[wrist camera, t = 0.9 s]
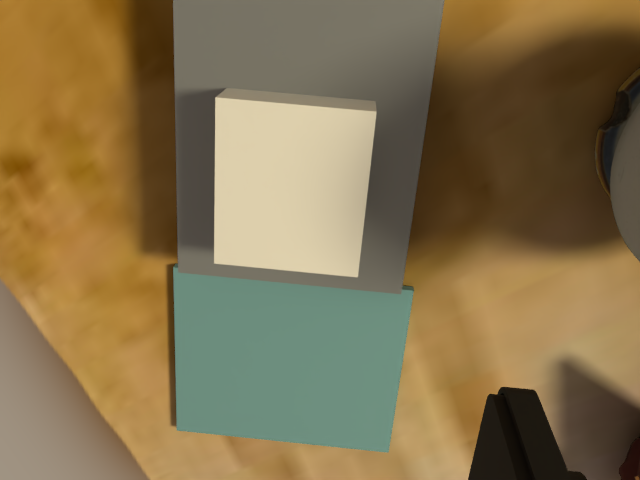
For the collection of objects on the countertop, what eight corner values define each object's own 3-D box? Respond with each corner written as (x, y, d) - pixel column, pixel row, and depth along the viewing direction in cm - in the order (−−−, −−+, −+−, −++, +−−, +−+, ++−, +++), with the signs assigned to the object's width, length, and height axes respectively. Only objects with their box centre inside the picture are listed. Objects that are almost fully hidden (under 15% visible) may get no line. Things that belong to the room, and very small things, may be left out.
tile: (227, 87, 29) (215, 97, 26) (375, 101, 28) (376, 111, 26) (224, 243, 32) (214, 263, 29) (358, 255, 32) (357, 277, 29)
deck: (190, -55, 29) (172, -58, 26) (441, -34, 29) (449, -35, 26) (192, 249, 35) (178, 272, 33) (397, 269, 35) (401, 294, 32)
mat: (175, 263, 36) (173, 267, 35) (413, 286, 35) (413, 290, 35) (178, 425, 41) (176, 430, 40) (388, 447, 40) (388, 452, 40)
